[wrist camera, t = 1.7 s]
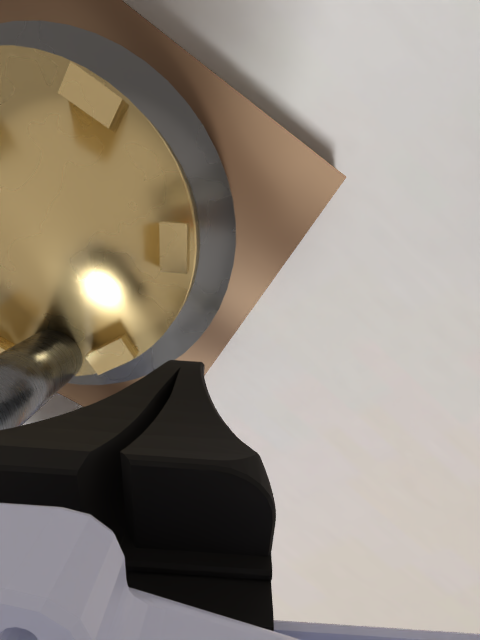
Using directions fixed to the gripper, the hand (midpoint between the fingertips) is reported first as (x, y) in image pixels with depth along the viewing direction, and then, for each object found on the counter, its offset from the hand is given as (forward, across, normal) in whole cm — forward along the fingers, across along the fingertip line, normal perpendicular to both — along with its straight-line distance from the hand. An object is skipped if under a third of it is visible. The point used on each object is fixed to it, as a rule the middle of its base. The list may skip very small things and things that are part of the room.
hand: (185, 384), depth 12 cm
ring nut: (+3, +6, -5) cm, 8 cm away
